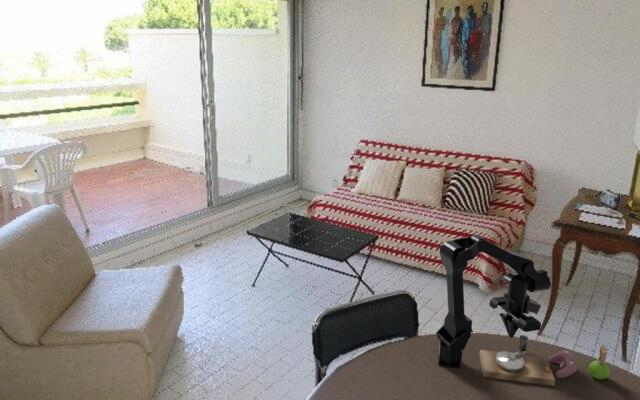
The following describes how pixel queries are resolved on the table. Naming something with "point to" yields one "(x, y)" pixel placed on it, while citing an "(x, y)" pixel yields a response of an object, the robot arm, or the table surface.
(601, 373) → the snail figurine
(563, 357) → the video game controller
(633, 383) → the table surface
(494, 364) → the stand
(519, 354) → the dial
